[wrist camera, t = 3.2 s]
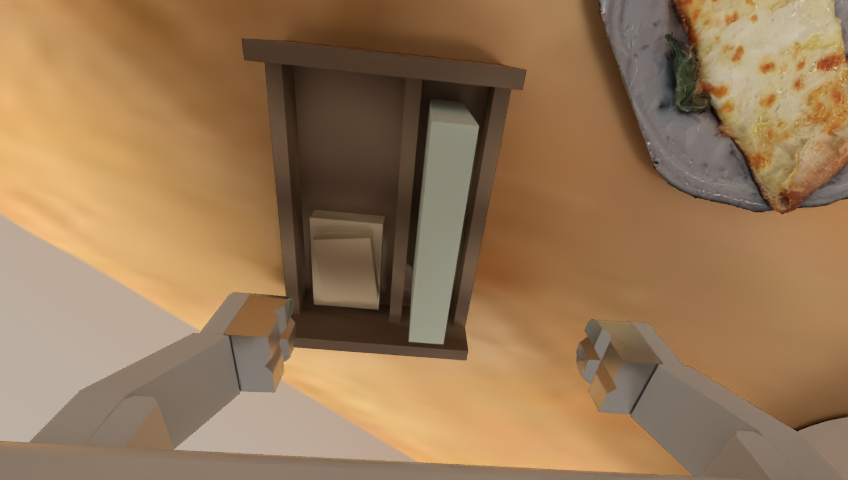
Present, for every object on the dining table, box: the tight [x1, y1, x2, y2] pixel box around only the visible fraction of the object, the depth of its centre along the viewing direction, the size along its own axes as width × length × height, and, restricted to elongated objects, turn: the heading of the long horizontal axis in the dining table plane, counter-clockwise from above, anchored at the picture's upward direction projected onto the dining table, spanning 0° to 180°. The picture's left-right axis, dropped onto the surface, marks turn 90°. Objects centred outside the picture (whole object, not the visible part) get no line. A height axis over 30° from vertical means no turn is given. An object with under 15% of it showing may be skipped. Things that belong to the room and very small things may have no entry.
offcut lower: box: [310, 210, 385, 310], centre depth 24 cm, size 6×4×1 cm
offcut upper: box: [313, 231, 379, 302], centre depth 23 cm, size 4×3×1 cm
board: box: [409, 99, 479, 344], centre depth 20 cm, size 11×2×7 cm, turn 174°
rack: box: [242, 39, 526, 360], centre depth 22 cm, size 17×12×5 cm
